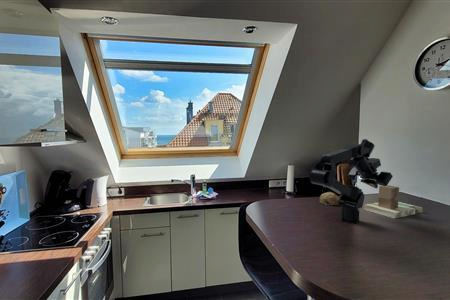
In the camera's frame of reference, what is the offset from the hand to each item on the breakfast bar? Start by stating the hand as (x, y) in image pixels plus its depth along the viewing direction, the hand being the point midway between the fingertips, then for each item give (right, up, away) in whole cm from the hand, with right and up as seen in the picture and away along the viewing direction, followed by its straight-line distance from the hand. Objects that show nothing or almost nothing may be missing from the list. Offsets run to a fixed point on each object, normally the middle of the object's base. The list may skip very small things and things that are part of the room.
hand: (376, 187), depth 127 cm
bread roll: (-14, -12, +20) cm, 28 cm away
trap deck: (+12, -12, +7) cm, 18 cm away
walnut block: (+8, -10, +5) cm, 14 cm away
